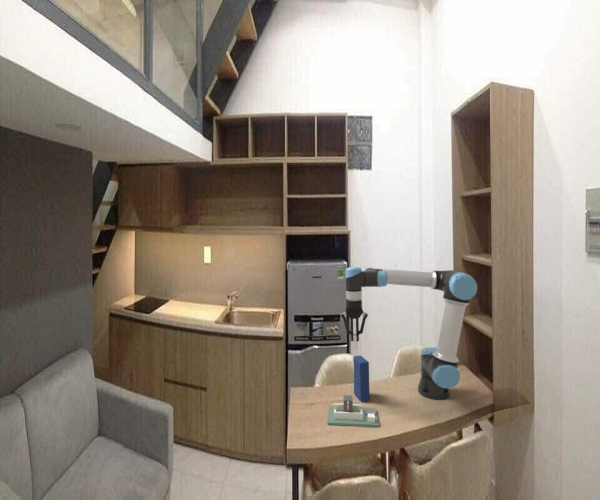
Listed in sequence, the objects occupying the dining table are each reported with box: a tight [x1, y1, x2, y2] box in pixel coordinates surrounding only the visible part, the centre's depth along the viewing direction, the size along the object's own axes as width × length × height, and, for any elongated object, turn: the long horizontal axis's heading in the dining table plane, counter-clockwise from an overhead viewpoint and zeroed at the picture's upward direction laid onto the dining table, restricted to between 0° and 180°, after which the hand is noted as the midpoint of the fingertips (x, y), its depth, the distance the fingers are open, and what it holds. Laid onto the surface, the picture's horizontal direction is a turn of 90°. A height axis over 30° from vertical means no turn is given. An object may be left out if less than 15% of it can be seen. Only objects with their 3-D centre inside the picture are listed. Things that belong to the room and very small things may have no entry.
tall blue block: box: [352, 355, 371, 403], centre depth 169 cm, size 10×5×20 cm, turn 13°
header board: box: [327, 403, 380, 428], centre depth 151 cm, size 22×14×4 cm, turn 82°
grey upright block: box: [343, 394, 354, 412], centre depth 151 cm, size 4×6×8 cm, turn 172°
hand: (355, 347), depth 161 cm, fingers closed
